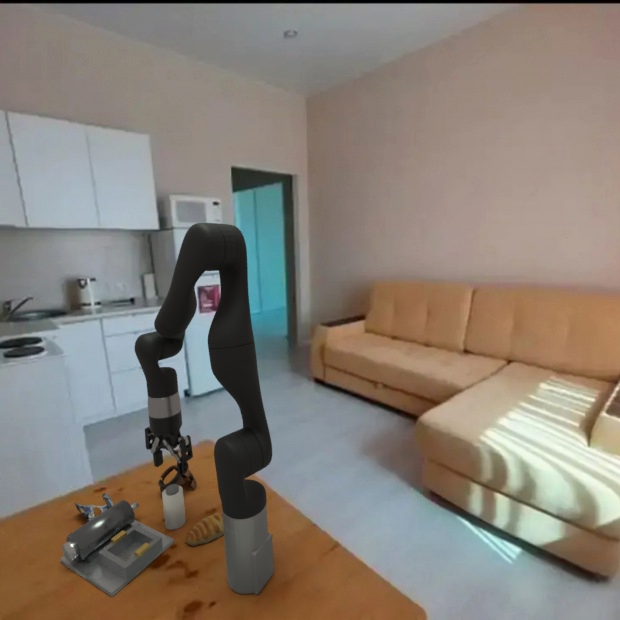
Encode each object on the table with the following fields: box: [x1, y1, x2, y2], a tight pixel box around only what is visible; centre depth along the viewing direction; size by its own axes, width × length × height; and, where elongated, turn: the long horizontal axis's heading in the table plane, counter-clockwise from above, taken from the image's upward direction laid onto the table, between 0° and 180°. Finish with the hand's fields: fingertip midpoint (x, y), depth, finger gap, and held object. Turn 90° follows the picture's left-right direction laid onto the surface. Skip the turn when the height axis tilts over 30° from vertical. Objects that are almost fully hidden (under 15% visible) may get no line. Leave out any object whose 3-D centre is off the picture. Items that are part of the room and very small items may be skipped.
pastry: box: [185, 512, 224, 547], centre depth 92 cm, size 9×7×4 cm
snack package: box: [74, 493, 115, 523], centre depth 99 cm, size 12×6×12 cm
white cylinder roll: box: [161, 484, 187, 531], centre depth 96 cm, size 5×5×10 cm
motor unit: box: [59, 499, 175, 598], centre depth 88 cm, size 19×18×7 cm
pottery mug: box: [157, 461, 197, 493], centre depth 111 cm, size 12×10×8 cm
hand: (170, 469), depth 94 cm, fingers open, 8 cm apart
